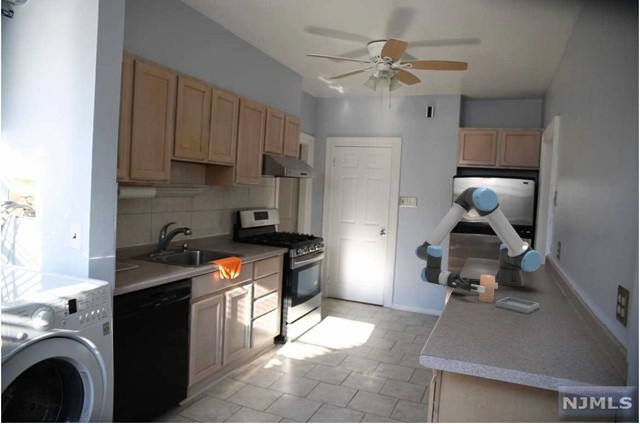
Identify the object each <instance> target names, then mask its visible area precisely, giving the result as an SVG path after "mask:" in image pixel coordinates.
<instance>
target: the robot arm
mask: <svg viewBox="0 0 640 424" xmlns="http://www.w3.org/2000/svg"><path fill="white" fill-rule="evenodd" d="M471 210H474V211H475V212H476V213H477V215H478V216H479V217H480V218H484V219H485V220H486V221H487V223H488V224H489V226H490V227H491V228H492V230H493V231H494V233H495V234H496V235H497V236H498V238H499V239H500V241H501V242H502V243H501V245H500V247H499V256H498V257H499V258H498V260H499V261H498V270H497V271H496V274H495V275H494V276H495V285H494V290H498V288H499V287H498V286H499V285H500V286H506V287H512V288H513V287H523V286H524V278H523V276H522V272H521V271H524V272H530V273H533V272H534V271H535V272H536V271H537V270H538V269H539V268H540V266H541V265H542V255H541V254H540V252H539V251H537V250H534V249H533V248H532V247H531V246H530V244H529V243H528V242H527V241H524V240H522V237H520V235H519V234H518V233H517V231H516V230H515V229H514V227H513V226H512V224H511V223H510V222H509V220H508V219H507V217H506V216H505V215H504V213H503V212H502V211H501V209H500V202H499V197H498V194H497V192H496V191H495V190H493V189H492V188H489V187H484V186H482V187H480V186H479V187H478V186H477V187H476V186H475V187H474V186H472V187H468V188H466V189H464V190H463V191H462V192H461V193H460V194H459V195H458V196H457V197H456V199H455V200H454V201H453V203H452V206H451V208H450V209H449V210H448V212H447V213H446V214H445V215H444V217H443V218H442V219H441V221H440V222H439V223H438V225H437V226H436V227H435V228H434V229H433V231H432V232H431V233H430V235H429V236H428V237H427V239H426V240H425V241H424V242H423V243H422V244H419V245H418V246H416V248H415V251H414V252H415V255H416V258H418V259H420V260H423V261H425V262H426V265H425V267H423V268H422V269H421V272H420V279H421V280H422V281H423V282H426V283H429V284H434V285H438V286H443V287H444V288H445V287H449V288H452V289H458V288H459V289H461V290H464V291H467V292H471V291H474V292H478V293H479V292H482V293H485V287H483V286H480V278H470V277H466V276H465V277H461V275H460V273H457V272H451V271H447V270H442V260H443V248H442V246H441V244H442V243H443V242H444V241H445V240H446V239H447V237H448V235H449V234H450V233H451V232H452V231H453V229H454V228H455V227H456V226H457V224H458V223H459V222H460V220H461V219H462V218H464V217H463V216H465V215H468V214H469V212H470V211H471Z"/></svg>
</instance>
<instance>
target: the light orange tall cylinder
mask: <svg viewBox="0 0 640 424" xmlns="http://www.w3.org/2000/svg"><path fill="white" fill-rule="evenodd" d="M495 276H496V275H492V274H480V277H479V279H480V285H479V286H483V287H485V293H482V292H478V293H479V294H478V301H479V302H483V303H494V296H495V289H494V285H495Z"/></svg>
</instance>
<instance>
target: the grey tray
mask: <svg viewBox="0 0 640 424" xmlns="http://www.w3.org/2000/svg"><path fill="white" fill-rule="evenodd" d="M495 307H496V308H499V309H504V310H508V311H512V312H516V313H521V314H525V315H528V314H531V313H532V312H535V311H536V310H538V309H539V308H540V303H539V302H534V301H530V300H527V299H520V298H516V297H511V296H507V297H504V298H500V299H498V300H496V301H495Z"/></svg>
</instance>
